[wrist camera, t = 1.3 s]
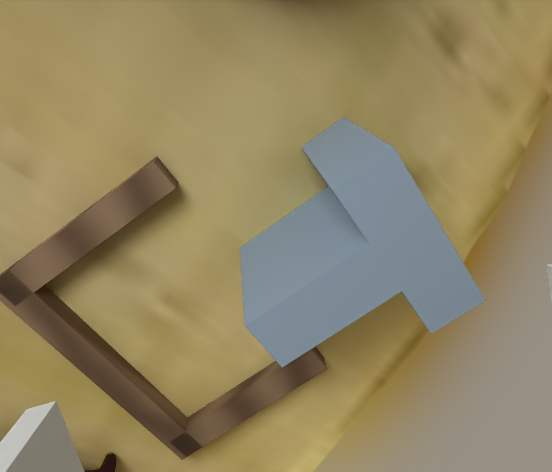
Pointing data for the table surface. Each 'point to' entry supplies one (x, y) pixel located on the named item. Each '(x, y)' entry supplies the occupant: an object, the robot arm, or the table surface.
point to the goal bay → (101, 356)
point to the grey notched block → (351, 251)
